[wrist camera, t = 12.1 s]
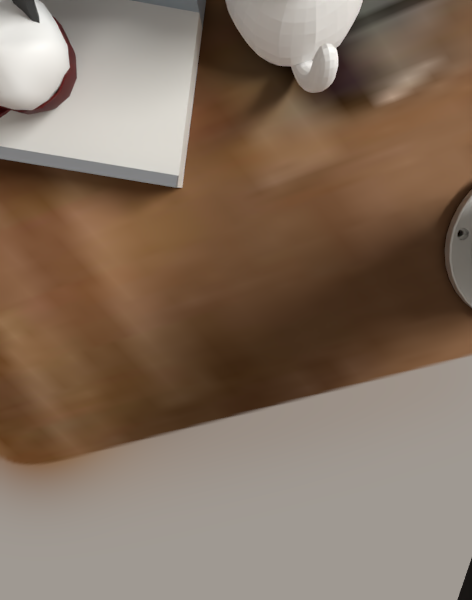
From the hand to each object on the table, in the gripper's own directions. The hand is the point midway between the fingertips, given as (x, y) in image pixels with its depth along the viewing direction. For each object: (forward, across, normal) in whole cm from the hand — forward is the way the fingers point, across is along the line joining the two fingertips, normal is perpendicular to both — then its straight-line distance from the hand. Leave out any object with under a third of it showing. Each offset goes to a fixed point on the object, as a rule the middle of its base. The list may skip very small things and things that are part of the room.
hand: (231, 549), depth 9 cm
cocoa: (+26, +14, -12) cm, 32 cm away
